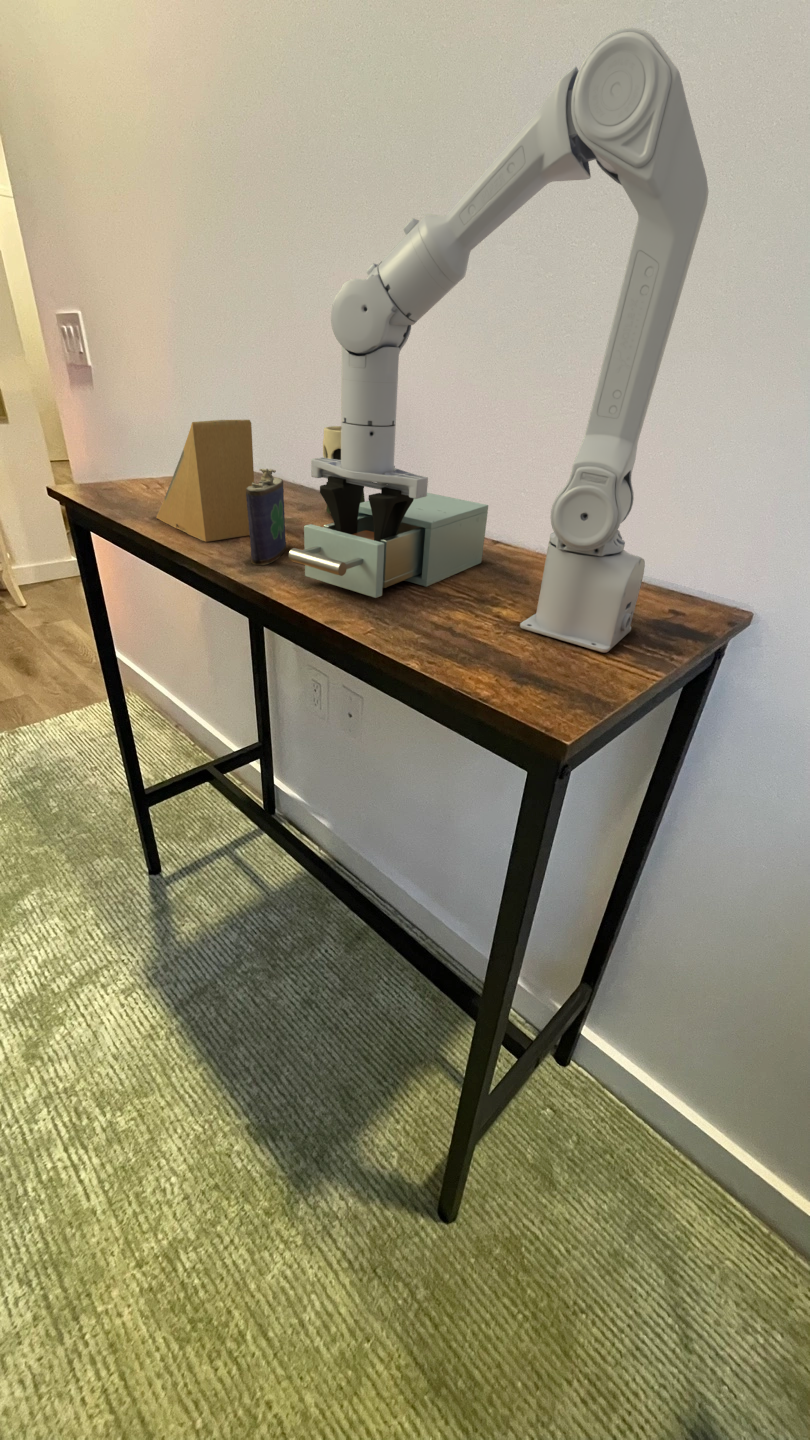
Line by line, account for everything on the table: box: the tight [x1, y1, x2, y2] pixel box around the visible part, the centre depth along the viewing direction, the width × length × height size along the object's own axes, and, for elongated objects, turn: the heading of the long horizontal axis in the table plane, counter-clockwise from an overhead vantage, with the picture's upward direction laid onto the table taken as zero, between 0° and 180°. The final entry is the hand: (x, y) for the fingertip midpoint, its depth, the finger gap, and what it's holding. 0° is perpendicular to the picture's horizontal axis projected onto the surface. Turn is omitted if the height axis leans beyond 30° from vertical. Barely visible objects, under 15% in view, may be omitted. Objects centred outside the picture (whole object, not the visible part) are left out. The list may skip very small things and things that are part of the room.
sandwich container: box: [155, 419, 255, 543], centre depth 89 cm, size 9×15×15 cm, turn 43°
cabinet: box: [358, 492, 489, 588], centre depth 81 cm, size 14×12×8 cm
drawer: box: [288, 514, 426, 599], centre depth 73 cm, size 17×10×6 cm, turn 145°
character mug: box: [322, 425, 366, 515], centre depth 100 cm, size 11×7×13 cm, turn 46°
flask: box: [246, 468, 287, 566], centre depth 80 cm, size 9×3×11 cm, turn 171°
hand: (365, 552), depth 73 cm, fingers closed on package, 4 cm apart
